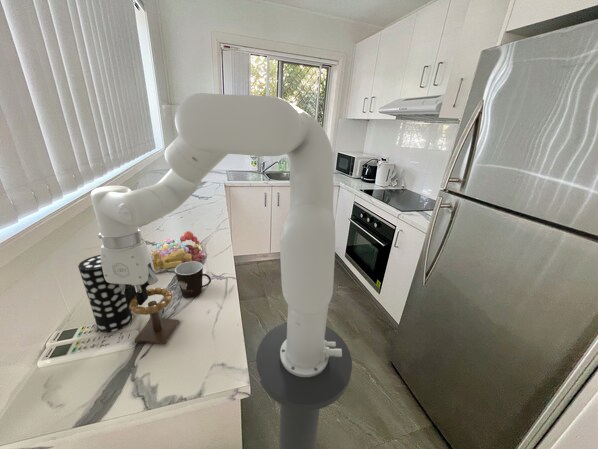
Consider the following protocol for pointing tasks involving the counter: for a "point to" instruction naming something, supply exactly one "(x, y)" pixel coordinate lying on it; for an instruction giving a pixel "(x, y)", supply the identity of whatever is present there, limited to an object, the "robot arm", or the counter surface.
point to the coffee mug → (190, 278)
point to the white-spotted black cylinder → (104, 297)
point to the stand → (156, 329)
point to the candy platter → (176, 253)
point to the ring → (155, 308)
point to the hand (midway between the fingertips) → (137, 301)
